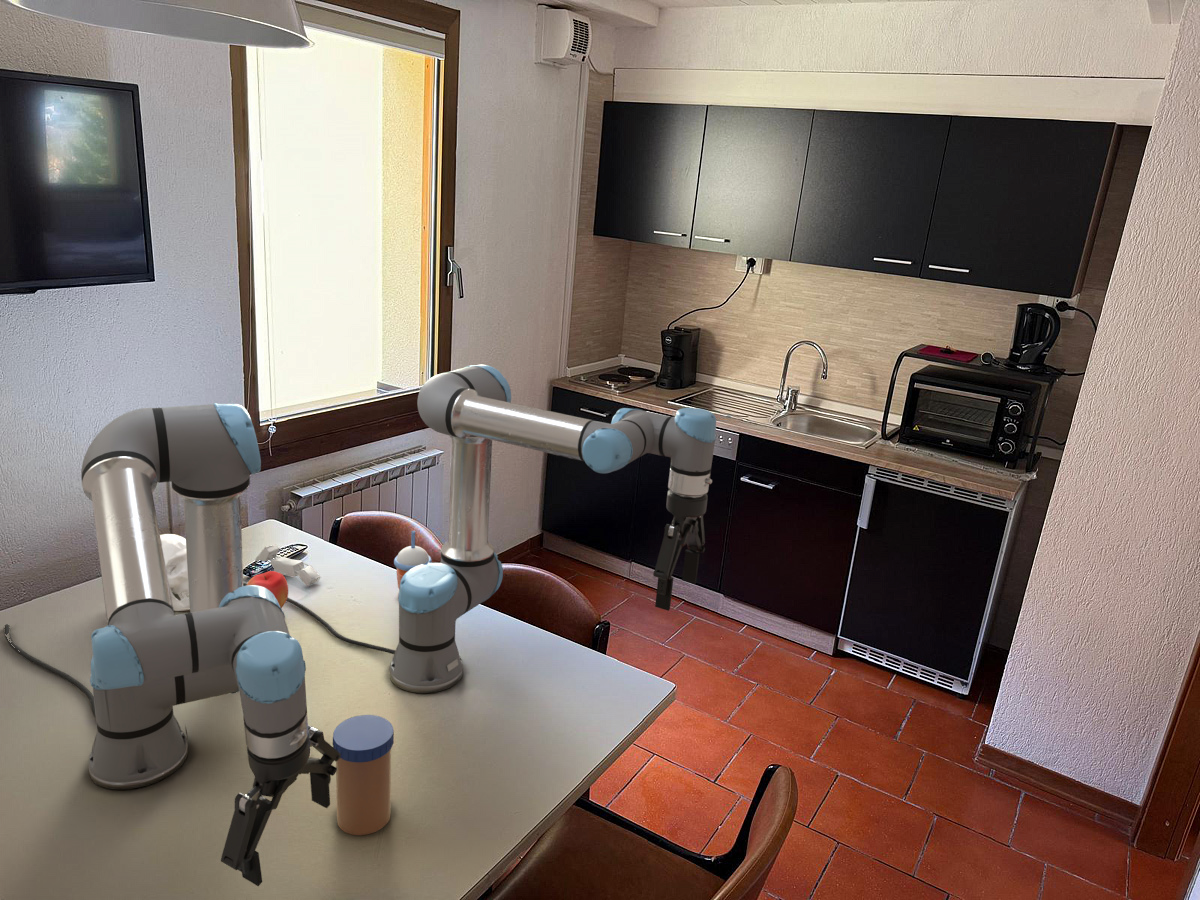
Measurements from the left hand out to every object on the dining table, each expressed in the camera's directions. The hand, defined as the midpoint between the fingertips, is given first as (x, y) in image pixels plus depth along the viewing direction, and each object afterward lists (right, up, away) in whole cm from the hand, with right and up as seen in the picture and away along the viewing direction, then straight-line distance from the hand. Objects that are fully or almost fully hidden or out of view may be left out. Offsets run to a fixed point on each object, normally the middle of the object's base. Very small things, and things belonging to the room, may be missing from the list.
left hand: (288, 839), depth 120 cm
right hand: (+59, +27, +45) cm, 79 cm away
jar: (+5, -6, +21) cm, 22 cm away
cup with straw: (-3, +18, +94) cm, 96 cm away
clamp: (-37, +22, +100) cm, 109 cm away
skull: (-58, +19, +84) cm, 104 cm away
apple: (-34, +16, +81) cm, 89 cm away
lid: (+6, +9, +16) cm, 20 cm away
